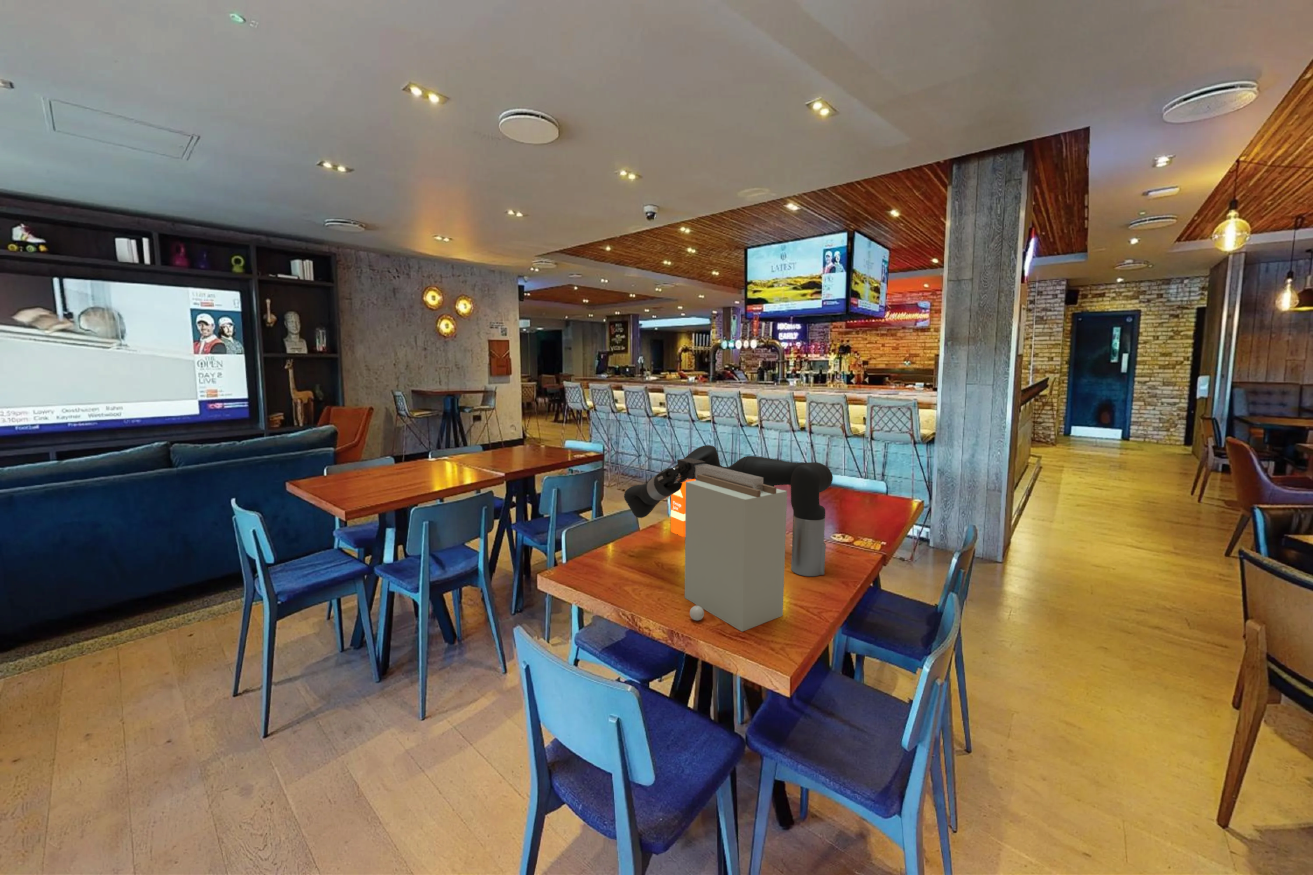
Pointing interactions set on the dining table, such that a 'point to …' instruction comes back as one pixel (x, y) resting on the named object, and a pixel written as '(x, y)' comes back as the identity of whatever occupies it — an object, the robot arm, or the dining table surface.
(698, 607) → the white ball
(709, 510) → the stand
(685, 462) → the robot arm
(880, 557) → the dining table surface
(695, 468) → the rod
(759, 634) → the dining table surface
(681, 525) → the orange juice
